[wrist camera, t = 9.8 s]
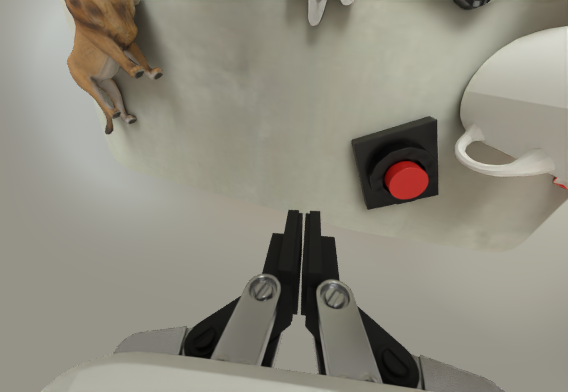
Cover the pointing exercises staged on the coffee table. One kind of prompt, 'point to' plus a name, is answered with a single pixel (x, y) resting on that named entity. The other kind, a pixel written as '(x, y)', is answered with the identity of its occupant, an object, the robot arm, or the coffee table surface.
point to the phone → (470, 3)
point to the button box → (396, 159)
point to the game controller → (319, 9)
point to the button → (406, 180)
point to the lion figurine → (106, 51)
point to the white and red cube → (561, 183)
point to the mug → (520, 107)
